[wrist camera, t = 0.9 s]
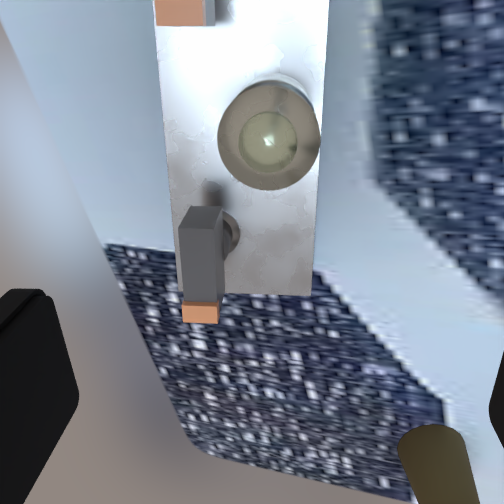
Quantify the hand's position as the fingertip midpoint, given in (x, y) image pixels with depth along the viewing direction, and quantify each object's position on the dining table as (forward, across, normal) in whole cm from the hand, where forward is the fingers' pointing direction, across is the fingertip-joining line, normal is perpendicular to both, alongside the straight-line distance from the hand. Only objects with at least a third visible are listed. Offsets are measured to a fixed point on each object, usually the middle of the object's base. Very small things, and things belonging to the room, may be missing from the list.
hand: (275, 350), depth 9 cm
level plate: (+23, +3, -1) cm, 23 cm away
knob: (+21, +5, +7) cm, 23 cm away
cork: (+23, -13, +30) cm, 40 cm away
